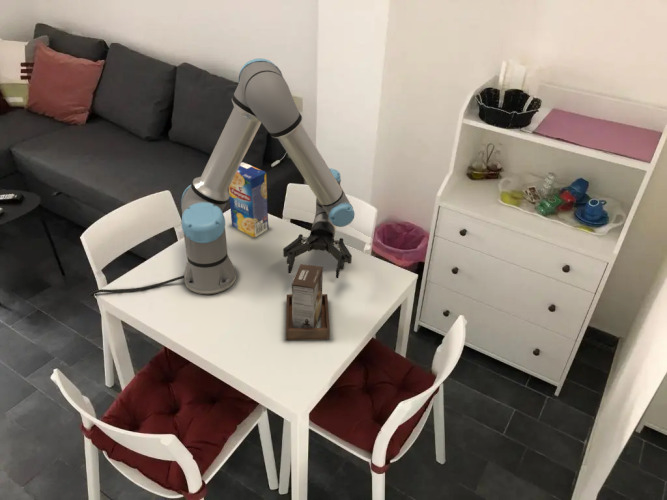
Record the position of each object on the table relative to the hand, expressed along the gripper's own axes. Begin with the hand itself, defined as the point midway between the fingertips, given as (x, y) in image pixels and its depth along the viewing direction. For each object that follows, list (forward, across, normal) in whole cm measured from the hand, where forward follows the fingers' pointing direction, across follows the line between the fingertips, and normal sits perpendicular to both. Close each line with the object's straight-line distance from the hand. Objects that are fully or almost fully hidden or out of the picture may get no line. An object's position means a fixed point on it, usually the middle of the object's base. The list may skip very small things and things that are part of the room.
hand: (313, 272), depth 153 cm
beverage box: (-33, +27, -10) cm, 44 cm away
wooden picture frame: (+10, 0, -10) cm, 14 cm away
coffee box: (+10, 0, -10) cm, 14 cm away
